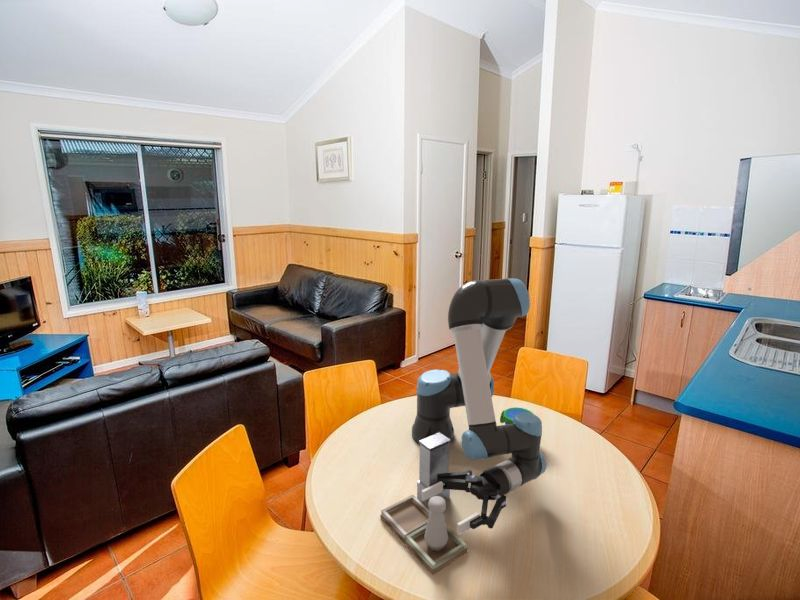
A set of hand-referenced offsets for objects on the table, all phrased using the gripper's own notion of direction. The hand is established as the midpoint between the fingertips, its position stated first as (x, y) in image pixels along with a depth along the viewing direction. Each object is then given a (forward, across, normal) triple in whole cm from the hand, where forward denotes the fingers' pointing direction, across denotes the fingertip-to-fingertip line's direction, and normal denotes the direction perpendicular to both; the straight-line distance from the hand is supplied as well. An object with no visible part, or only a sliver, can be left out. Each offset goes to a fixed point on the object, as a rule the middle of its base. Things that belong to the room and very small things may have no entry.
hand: (439, 511), depth 107 cm
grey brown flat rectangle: (+1, +5, -10) cm, 11 cm away
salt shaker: (+1, 0, -9) cm, 9 cm away
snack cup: (-53, +20, -10) cm, 57 cm away
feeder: (-10, +13, -10) cm, 19 cm away
